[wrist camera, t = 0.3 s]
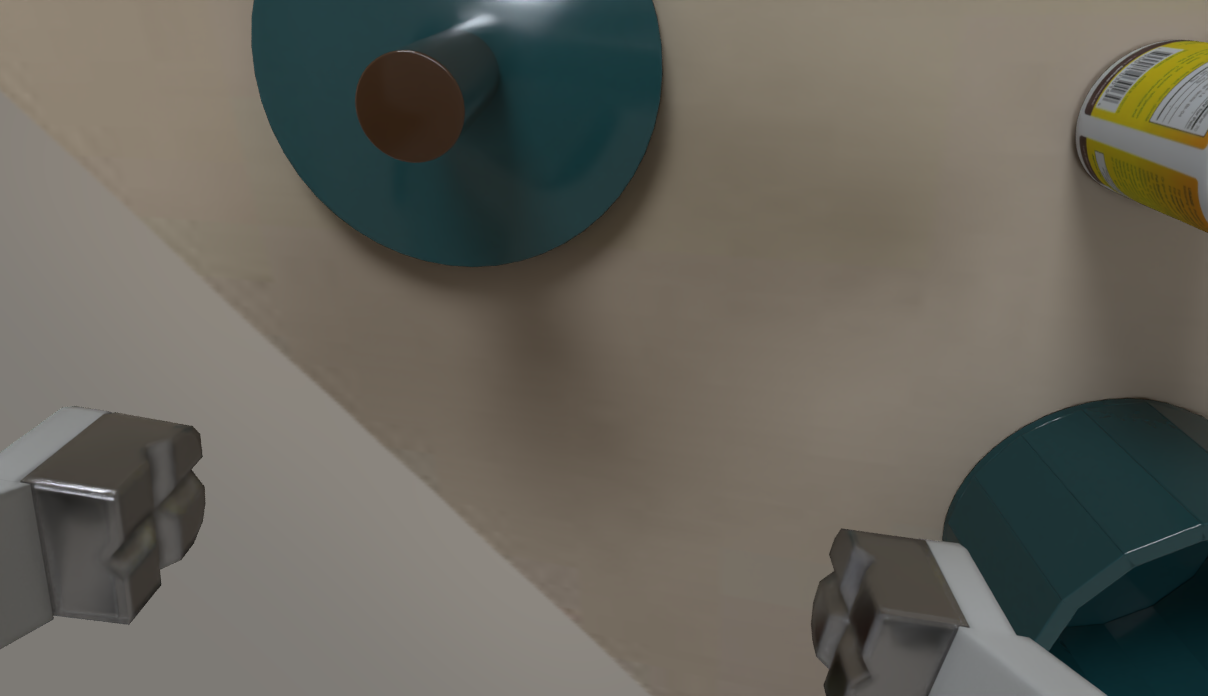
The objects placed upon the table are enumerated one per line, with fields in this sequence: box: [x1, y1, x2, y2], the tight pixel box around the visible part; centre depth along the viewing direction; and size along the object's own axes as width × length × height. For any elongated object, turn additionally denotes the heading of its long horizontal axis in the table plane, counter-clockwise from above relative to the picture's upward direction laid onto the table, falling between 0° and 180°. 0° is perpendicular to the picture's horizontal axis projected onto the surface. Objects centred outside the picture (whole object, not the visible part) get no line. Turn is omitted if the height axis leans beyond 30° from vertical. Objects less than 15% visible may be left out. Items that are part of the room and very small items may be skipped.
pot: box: [943, 399, 1208, 696], centre depth 34 cm, size 14×14×8 cm
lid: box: [252, 0, 663, 267], centre depth 26 cm, size 15×15×9 cm
